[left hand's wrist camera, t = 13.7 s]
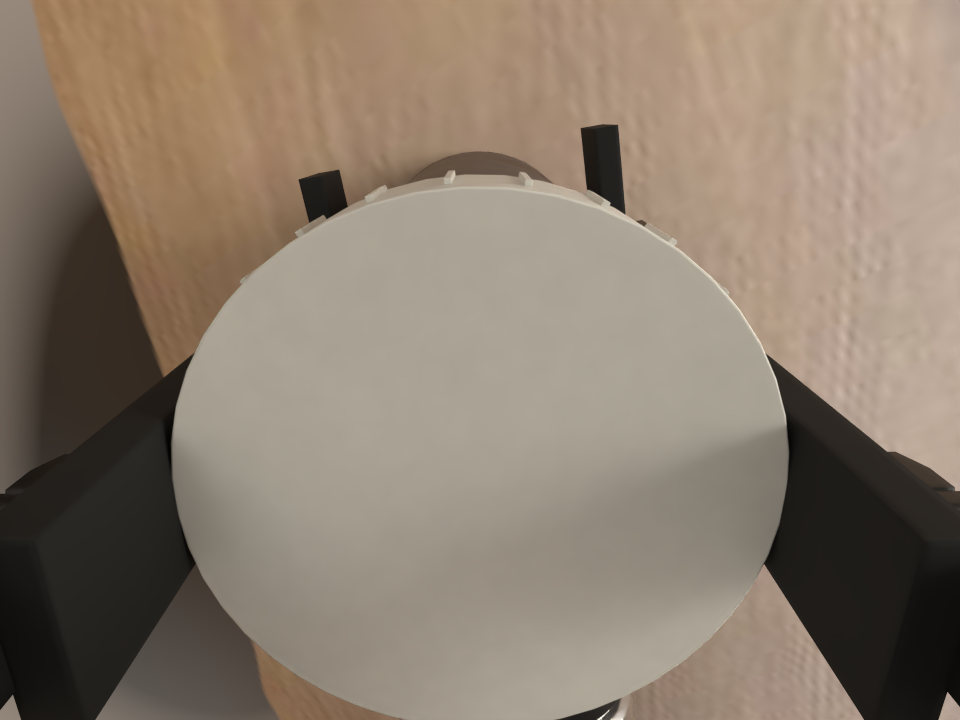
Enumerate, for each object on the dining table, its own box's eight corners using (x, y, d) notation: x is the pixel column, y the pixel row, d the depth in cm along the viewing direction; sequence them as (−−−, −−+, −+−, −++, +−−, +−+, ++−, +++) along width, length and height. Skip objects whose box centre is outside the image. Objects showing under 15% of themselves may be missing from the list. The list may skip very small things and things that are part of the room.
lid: (229, 631, 13) (188, 715, 11) (198, 143, 10) (132, 149, 8) (687, 660, 14) (720, 747, 12) (801, 194, 10) (873, 212, 8)
